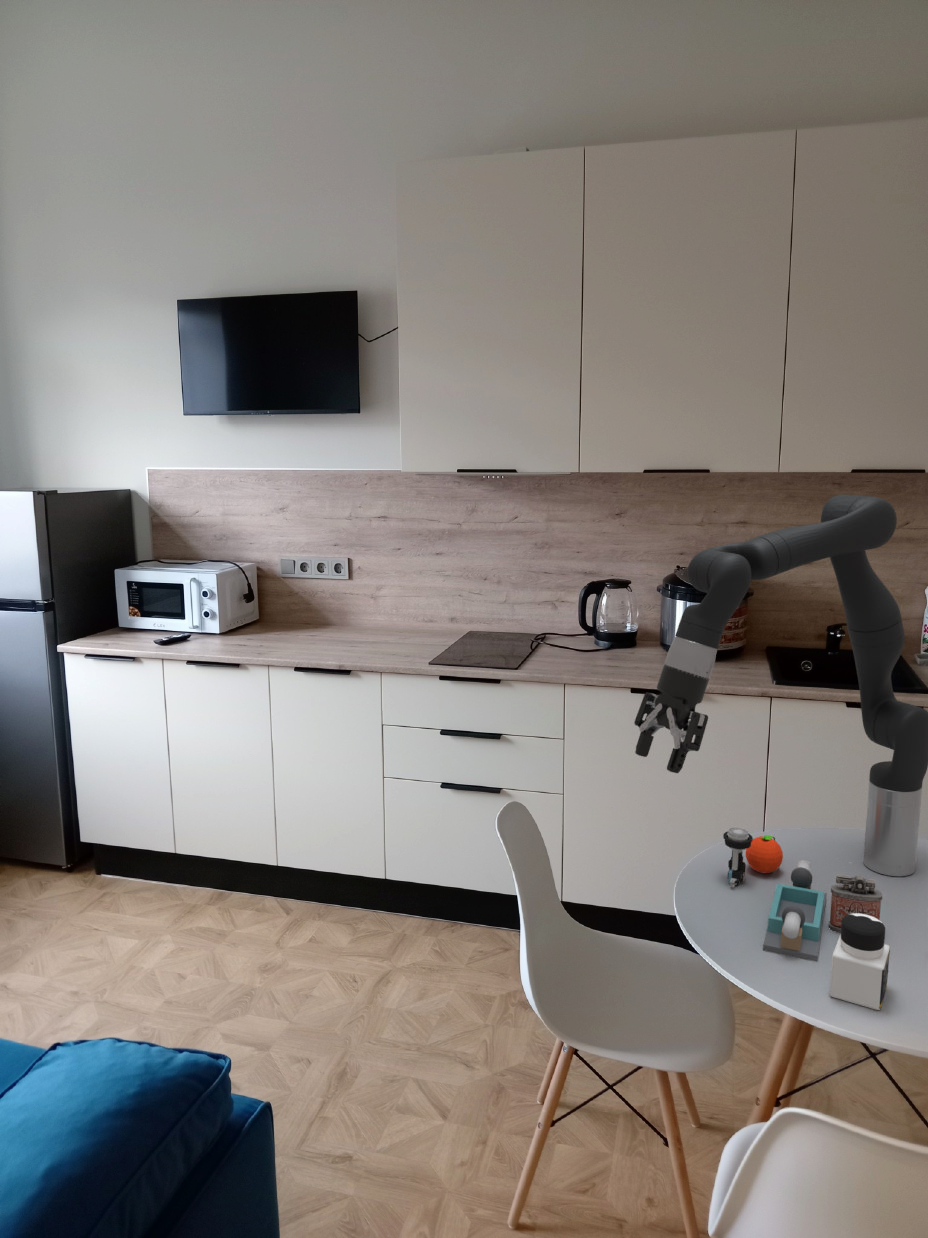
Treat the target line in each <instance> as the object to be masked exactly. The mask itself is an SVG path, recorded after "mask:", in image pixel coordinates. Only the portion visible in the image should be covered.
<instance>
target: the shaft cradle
mask: <svg viewBox="0 0 928 1238" xmlns="http://www.w3.org/2000/svg"><path fill="white" fill-rule="evenodd" d="M811 865H812V864H811V863H810V862H809V861H808V860H805V859H804V860H803V859H801V860H799V861H798V862H797V865H796V868H794V869H793V870H791V871H792V872H791V874H790V879H791V883H792V885H788V884H782V883H776V888H775V891H774V895H773V899H772V904H771V908H770V911H769V914H768V921H767V922H768V923H767V924H768V925H767V929H766V933H765V936H764V941H763V944H762V951H764V952H770V953H775V954H780V955H783V956H789V957H794V958H799V959H803V960H807V961H813V962H818V960H819V959H818V958H819V952H820V951H819V950H820V946H821V945H820V944H821V938H822V932H821V931H823V924H824V917H825V916H824V915H825V911H826V903H827V895H828V894H827V893H826V892H825V891H823V890H816V889H815V890H814V889H812V883H813V874H812V873H811V868H812V866H811Z"/></svg>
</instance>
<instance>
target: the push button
mask: <svg viewBox="0 0 928 1238" xmlns="http://www.w3.org/2000/svg"><path fill="white" fill-rule="evenodd" d="M722 837H723V838H722V839H724V845H725V846H726V847H728V848H729V849H731V857H730V859H729V860H728V864H727V865H728V871H727V879H728V885H729V887H730V888H735V886H736V887H738V886H739V885H740V883H741V881H742V882H743V883H744V882H745V879H746V869H747V868H746V867H747V865H746V862H744V856H743V851H746V849H747V848H749V847H751V842H752V841H753V839H754V838H753V836H752V834H750V833H748V831H747V830H746V829H745V828H742V827H732V828H729V829H728V831H725V832H723V836H722Z"/></svg>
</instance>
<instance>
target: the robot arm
mask: <svg viewBox="0 0 928 1238" xmlns="http://www.w3.org/2000/svg"><path fill="white" fill-rule="evenodd" d="M897 521H898V517H897V513H896V510H895V508H894V506H893V504H891V503H890V502H889V501H887V500H886V499H884V498H881V497H878V496H877V497H876V496H870V495H867V496H866V495H853V494H841V495H835V496H833V497H830V498H829V499H828V500H827V502H825V504H824V505H823V508H822V511H821V515H820V522H818V523H812V524H805V525H804V524H803V525H800V526H799V525H798V526H793V527H786V528H780V529H778V530H774V531H771V532H768V533H765V534H762V535H759V536H756V537H754V538H751V539H749V540H746V541H740V542H733V543H728V544H722V545H718V546H713V547H709V548H706V549H703V550H702V551H700V552H698V553H697V554H695V555H694V556H693V557H692V559H691V560H690V562H689V564H688V566H687V570H686V573H687V579H688V582H689V584H690V585H691V586H693V587H694V589H696V590H697V591H699V592H703V593H706V594H705V596H704V597H703V599H702V601H701V602H699V603H697V604H689V605H688V606H686V607H685V608H684V609H683V610H684V611H683V612H682V614H681V617H680V620H679V623H678V626H677V629H676V632H675V636H674V638H673V640H672V643H671V645H670V647H669V649H668V651H667V654H666V657H665V661H664V663H663V667H662V670H661V673H660V676H659V679H658V680H657V681H658V682H657V686H656V689H657V691H658V692H659V693H658V694H655V693H652V692H648V691H647V692H645V693H644V695H643V698H642V701H641V703H640V705H639V709H638V710H637V713H636V717H635V719H634V725H635V726H636V727H638V729H639V732H640V734H639V736H638V740H637V743H636V745H635V751H634V753H635V754H636V755H637V756H639V757H643V758H646V757H648V756H649V754H650V750H651V747H652V743H653V740H654V737H655V736H654V734H656V733H657V732H658V731H659V730H660V729H663V728H665V729H667V730H669V732H670V733H669V734H670V735H671V736H672V738H673V745H674V747H673V748H672V751H671V754H670V756H669V760H668V763H667V766H666V771H668V772H670V773H674V774H679V773H680V772H681V770H682V769H683V767H684V763H685V762H686V761H685V760H686V758H687V755H688V753H689V752H692V751H693V752H699V751H700V748H701V746H702V745H701V744H702V741H703V738H704V735H705V731H706V729H707V728H706V727H707V724H708V720H709V715H707V714H705V713H701V712H698V711H696V706H697V705H699V704H701V703H702V702H703V699H704V696H705V693H706V691H707V687H708V684H709V682H710V677H711V676H712V672H713V669H714V666H715V662H716V657H717V656H716V655H717V652H718V649H719V645H720V642H721V640H722V637H723V634H724V631H725V627H726V625H727V624H728V622H729V621H730V619H731V618H732V617H733V616H734V614H735V612H736V610H737V609H738V607H739V605H740V604H741V603H742V601H743V599H744V597H745V596H746V594H747V593H748V590H749V589H750V585H751V581H762V580H766V579H769V578H772V577H774V576H778V575H779V574H783V573H785V572H788V571H790V570H793V569H797V568H799V567H802V566H805V565H807V564H811V563H814V562H817V561H821V560H823V559H824V560H825V559H828V558H829V559H830V562H831V565H832V568H833V572H834V573H835V574H834V575H835V578H836V581H837V584H838V585H837V587H838V589H839V592H840V593H839V594H840V597H841V602H842V606H843V610H844V615H845V622H846V627H847V632H848V636H849V640H850V645H851V648H852V649H851V650H852V652H853V658H854V663H855V669H856V675H857V681H858V687H859V688H858V689H859V697H860V698H859V699H860V710H861V720H862V727H863V729H864V732H865V734H866V736H867V738H868V739H869V740H870V741H871V742H873V743H874V744H876V745H879V746H882V747H885V748H888V749H890V750H893V754H892V758H891V760H890V761H889V760H888V761H880V762H876V763H874V764H872V765H871V767H870V770H869V779H868V789H867V791H868V793H867V807H866V821H865V833H864V835H865V836H864V849H863V863H864V866H866V868H868V869H869V870H871V871H873V872H876V873H877V874H882V875H885V876H890V877H907V876H910V875H912V874H914V873H915V871H916V864H917V852H918V839H919V831H920V830H919V827H920V817H921V805H922V795H923V794H922V793H923V791H922V790H923V781H924V778H925V776H926V774H927V771H928V711H927V710H926V709H925V708H922V707H920V706H916V705H914V704H911V703H907V702H903V701H901V700H897V698H896V696H895V693H894V689H893V685H892V672H893V669H894V668H895V665H896V664H897V662H898V660H899V659H900V656H901V655H902V652H903V650H904V647H905V643H906V642H905V641H906V639H905V638H906V637H905V630H904V629H905V628H904V623H903V619H902V613H901V610H900V606H899V605H898V602H897V601H896V599H895V597H894V596H893V595H892V593H891V592H890V591H889V589H888V587H887V586H886V585H885V584H884V583H883V581H882V580H881V579H880V577H879V576H878V575H877V574H876V572H875V571H874V569H873V567H872V565H871V563H870V561H869V559H868V556H867V553H866V551H869V550H875V549H878V548H880V547H882V546H884V545H886V544H887V543H888V542H889V541H890V540H891V538H893V535H894V533H895V531H896V528H897ZM644 716H645V718H644ZM693 739H694V740H693ZM692 741H693V742H692Z"/></svg>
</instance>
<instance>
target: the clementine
mask: <svg viewBox="0 0 928 1238" xmlns="http://www.w3.org/2000/svg"><path fill="white" fill-rule="evenodd" d="M783 858H784V853H783V849H782V847H781V845H780V844H779V843H778V842H777V841H776V837H775V836H772V835H768V834H767V835H763V836H757V837H755V838H753V841H752V842H751V847H749V848H747V849H745V859H746V861H747V863H748V865H749V866H750V867H751V868H752V869H753V870H755V871H756V872H758V873H760V874H761V873H762V874H771V873H772V872H775V871H776V870H778V869H779V868H780V867H781V865H782V862H783Z"/></svg>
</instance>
